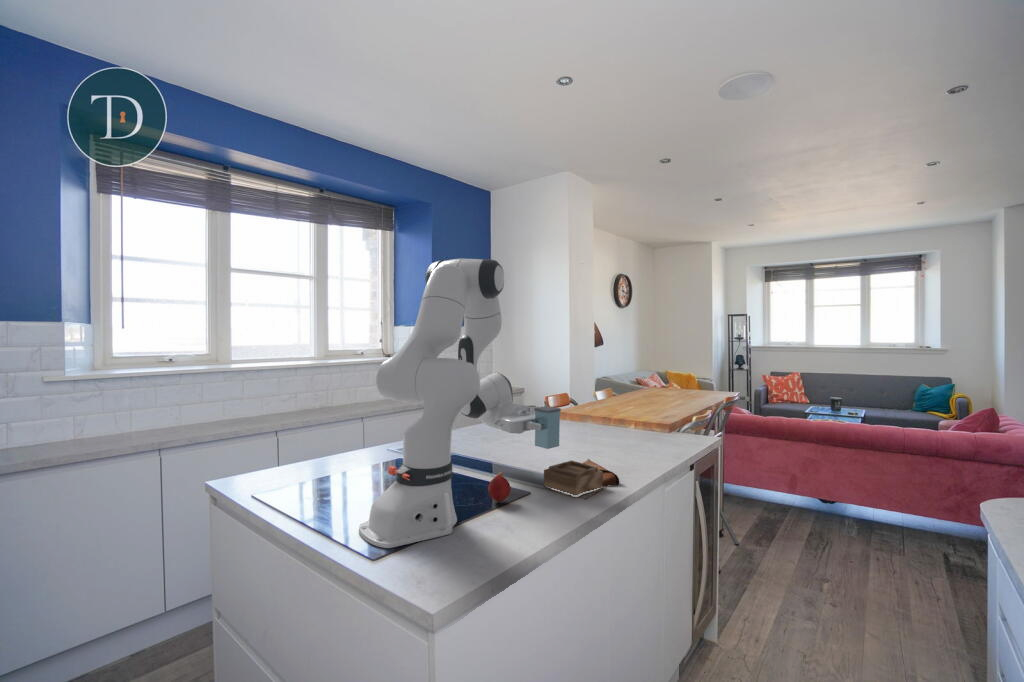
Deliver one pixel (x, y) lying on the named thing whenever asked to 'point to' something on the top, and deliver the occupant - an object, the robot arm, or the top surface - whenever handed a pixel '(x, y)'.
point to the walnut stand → (573, 477)
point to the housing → (547, 427)
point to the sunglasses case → (605, 474)
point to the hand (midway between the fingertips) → (549, 425)
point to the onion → (499, 488)
